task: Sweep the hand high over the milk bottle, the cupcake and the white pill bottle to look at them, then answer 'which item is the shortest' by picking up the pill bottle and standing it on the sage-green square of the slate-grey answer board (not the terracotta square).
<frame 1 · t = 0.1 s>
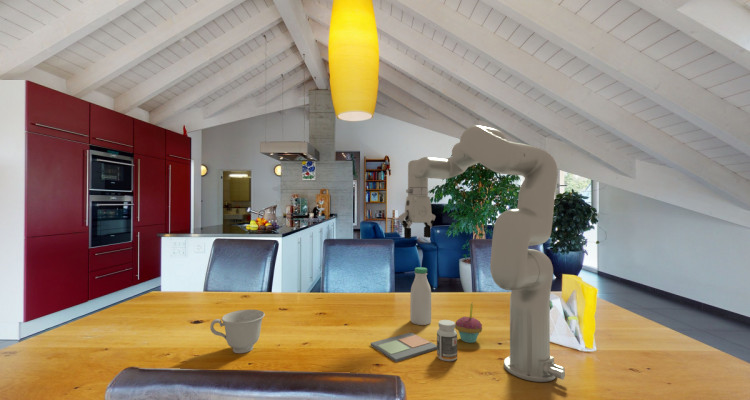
hand: (417, 237, 125), 31 cm above the table, tool pointing down, fingers open, 9 cm apart
milk bottle: (420, 322, 122), on the table
answer board: (404, 347, 100), on the table
cupcake: (468, 340, 106), on the table
pill bottle: (446, 358, 94), on the table
teacup: (237, 350, 97), on the table
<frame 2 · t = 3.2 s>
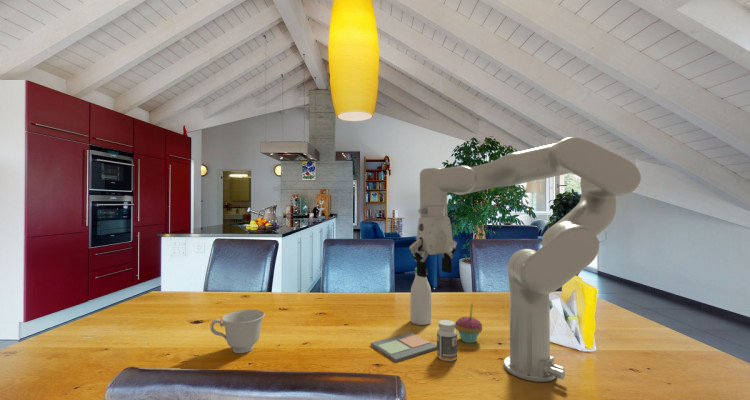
hand: (434, 274, 91), 24 cm above the table, tool pointing down, fingers open, 9 cm apart
nothing on the table moved.
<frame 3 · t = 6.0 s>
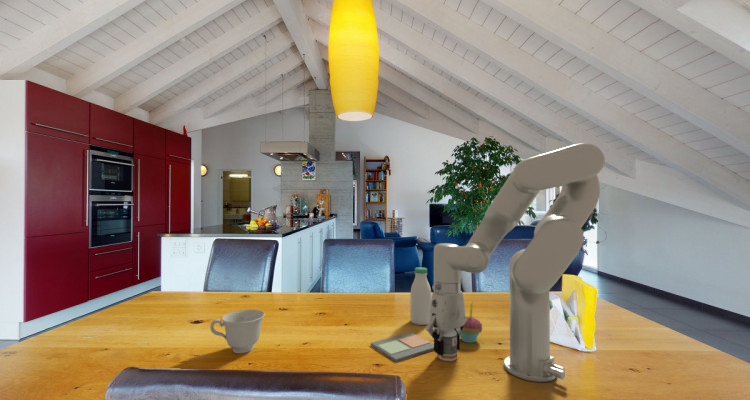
hand: (446, 350, 94), 2 cm above the table, tool pointing down, fingers closed on pill bottle, 5 cm apart
pill bottle: (446, 358, 94), on the table, touching gripper
everything else where it was.
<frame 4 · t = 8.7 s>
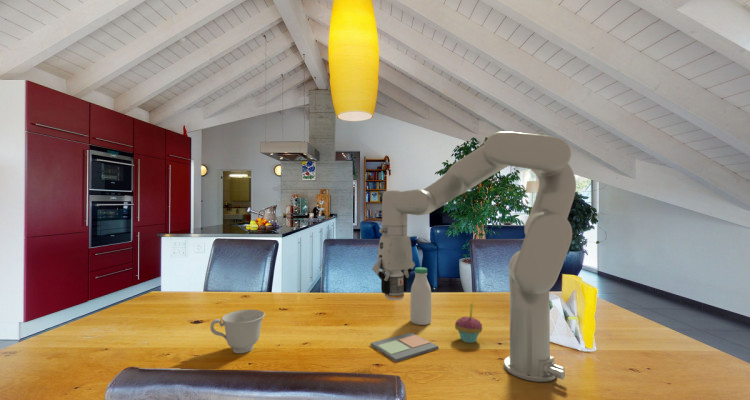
hand: (394, 291, 98), 17 cm above the table, tool pointing down, fingers closed on pill bottle, 5 cm apart
pill bottle: (394, 298, 98), point 15 cm above the table, touching gripper
everything else where it was.
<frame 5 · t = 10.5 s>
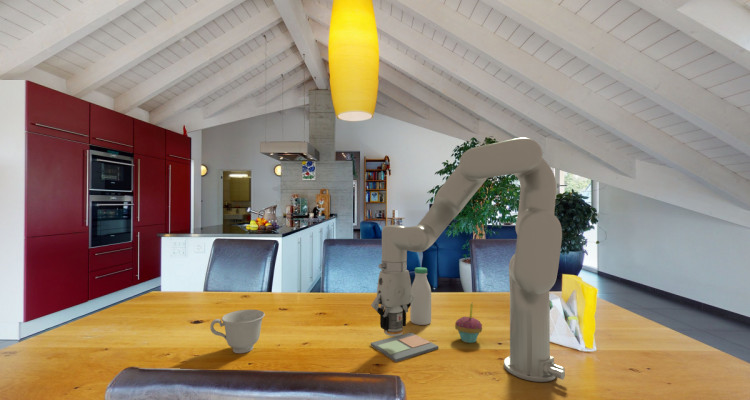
hand: (393, 326, 98), 7 cm above the table, tool pointing down, fingers closed on pill bottle, 5 cm apart
pill bottle: (393, 333, 98), point 5 cm above the table, touching gripper
everything else where it was.
when the fingers open (4 cm above the table, at t = 11.6 s): pill bottle stays where it is, resting on answer board.
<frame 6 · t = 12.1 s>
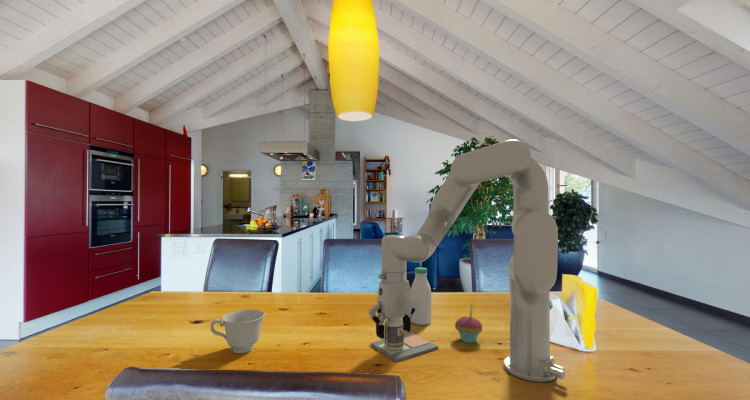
hand: (393, 333, 98), 5 cm above the table, tool pointing down, fingers open, 9 cm apart
pill bottle: (393, 347, 98), point 1 cm above the table, touching answer board
everything else where it was.
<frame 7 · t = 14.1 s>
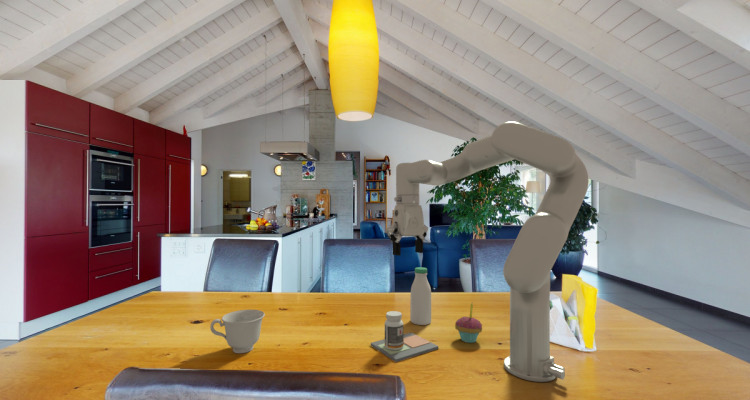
hand: (408, 253, 106), 28 cm above the table, tool pointing down, fingers open, 9 cm apart
nothing on the table moved.
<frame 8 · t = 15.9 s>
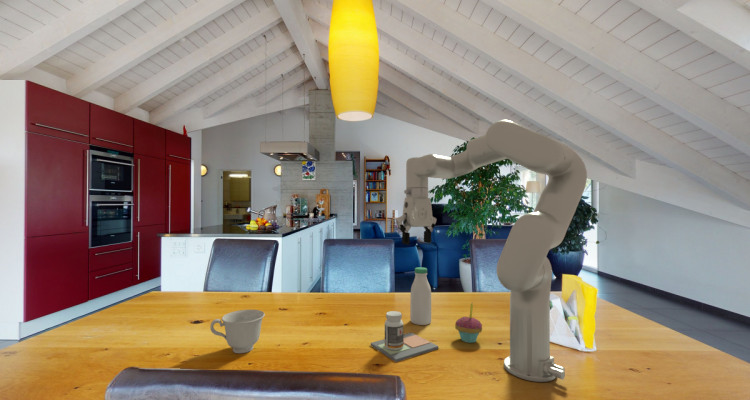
hand: (416, 243, 113), 30 cm above the table, tool pointing down, fingers open, 9 cm apart
nothing on the table moved.
at the end: pill bottle inside the target area on the answer board (0.1 cm from its centre), point 0.8 cm above the answer board's base; pill bottle tilted 0°; the gripper is holding nothing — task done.
